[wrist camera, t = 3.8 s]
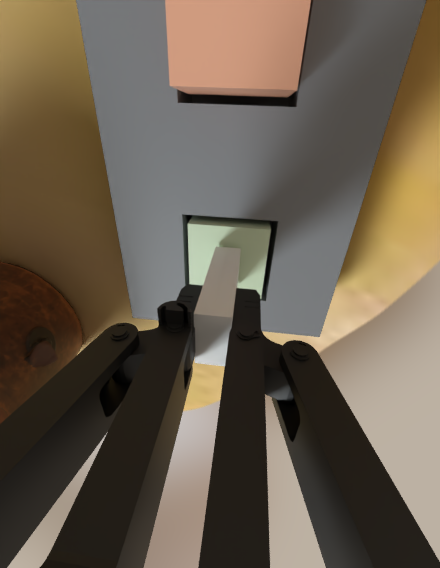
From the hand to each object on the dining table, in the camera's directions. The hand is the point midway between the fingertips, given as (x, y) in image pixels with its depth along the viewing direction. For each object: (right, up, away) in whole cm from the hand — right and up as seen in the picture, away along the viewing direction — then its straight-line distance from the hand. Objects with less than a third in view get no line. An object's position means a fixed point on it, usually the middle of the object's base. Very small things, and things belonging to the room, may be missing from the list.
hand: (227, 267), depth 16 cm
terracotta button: (+1, +10, -5) cm, 11 cm away
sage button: (0, +2, +3) cm, 4 cm away
